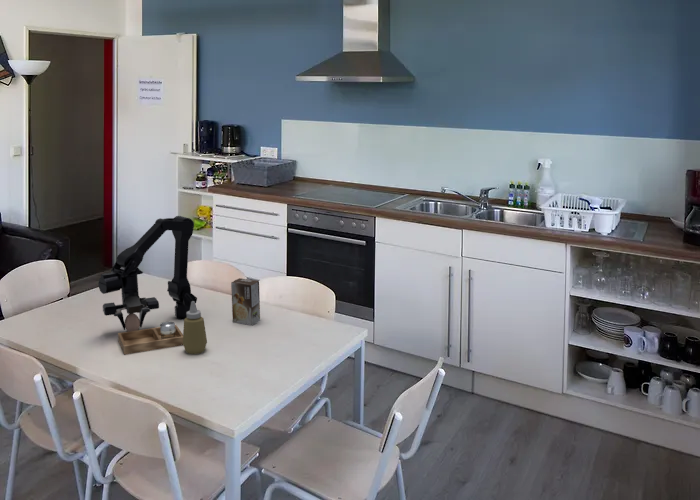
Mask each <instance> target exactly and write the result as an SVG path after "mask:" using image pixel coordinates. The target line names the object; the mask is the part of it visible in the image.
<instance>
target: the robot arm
mask: <svg viewBox="0 0 700 500" xmlns="http://www.w3.org/2000/svg"><path fill="white" fill-rule="evenodd" d="M194 229H195V222H194V221H193V220H192V219H191V218H190V217H187V216H186V217H185V216H181V215H176V216H174V217H168V218H167V217H166V218H157V219H156V220H155V222H154V223H153V224H152V226H150V228H149V229H148V230H147V231H146V232H145V233H144V234H143V235H142V236H141V237H140V238H139V239H138V240H137V241H136V242H135V243H134V244H133V245H131V246H129V247H127V248H125V249H124V250H123V251H121V252H120V253H118V255H117V256H116V261H115V263H114V265H113V266H112V268H111V270H110V272H108V273H102V274H100V278H99V279H98V282H97V285H98V288H99V291H100V293H102V294H103V295H104V294H105V295H106V294H109V293H113V292H117V291H121V302H122V303H121V304H115V302H105V303H103V305H102V312H103V314H104V316H112V315H113V317H117V318H118V319H119V322H120V324H121V326H122V329H123V330H124V331H125V330H126V328H125V319H124V314H123V312H122V310H123V311H124V310H126V313H127V315H128V314H132V313H134V314H136V313H137V314H138V315H139V316H138V318H139V320H140V327H139V329H140V328H142V327H143V324H144V320H145V317H146V315H147V314H148V313H149V312H151V310H158V309H160V302H159V301H158V299H157V297H155V296H153V297H147V298H146V297H140V296H139V295H140V294H139V282H138V281H139V279H138V278H139V277H138V275H142V274H144V271H142V270H141V269H140V268H139V266H140V265H141V263H142V261H143V259H144V256H145V254H146V253H147V252H148V251H149V249H151V247H153V245H154V244H155V243H156V242H157V241H158V240H159V239H160V238H161V237H162V236H163V235H164V234H165V232H166V231H171V233H172V235H173V237H174V263H173V265H174V267H173V277H172V279H171V280H168V281H167V291H166V292H168V295H169V296H170V297H171V298H172V300H173V302H175V305H174V317H175V318H176V319H177V320H184V319H185V318H186V317H187V312H188V311H190V306H191V302H192V301H195V304H196V303H197V301H198V297H196V296H195V295H194V294H193V293H192V291H191V290H192V289H191V284H190V282H189V279H188V261H189V242H190V239H191V237H192V236H193V233H194Z"/></svg>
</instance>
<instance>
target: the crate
mask: <svg viewBox="0 0 700 500" xmlns="http://www.w3.org/2000/svg"><path fill="white" fill-rule="evenodd" d="M175 331H176V337H175V338H168V339H162V340H161V334H160V326H156V327H151V328H143V329H138V330H136V331H129V332H128V331H124V332H118V333H117V337H118V339H117V341H118V343H119V345H120V348H121V350H122V353H123V354H124V356H125V355H132V354H137V353H144V352H149V351H155V350H161V349H169V348H173V347H180V346H184V345H183V333H182V331H181V330H180V329H179V327H178V325H177V324H175Z"/></svg>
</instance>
